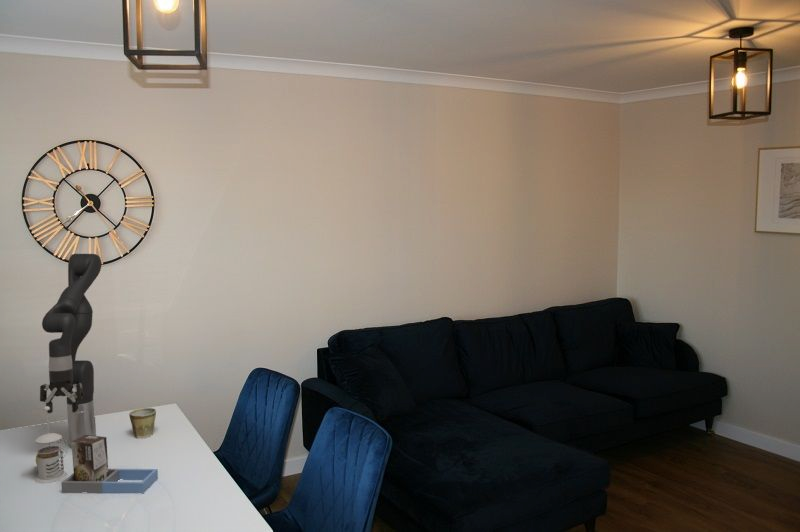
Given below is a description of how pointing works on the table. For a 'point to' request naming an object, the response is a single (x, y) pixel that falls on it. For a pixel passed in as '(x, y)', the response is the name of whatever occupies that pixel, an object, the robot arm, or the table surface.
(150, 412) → the ceramic cup
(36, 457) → the lemon
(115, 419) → the table surface
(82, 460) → the coffee box
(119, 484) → the frame
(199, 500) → the table surface
